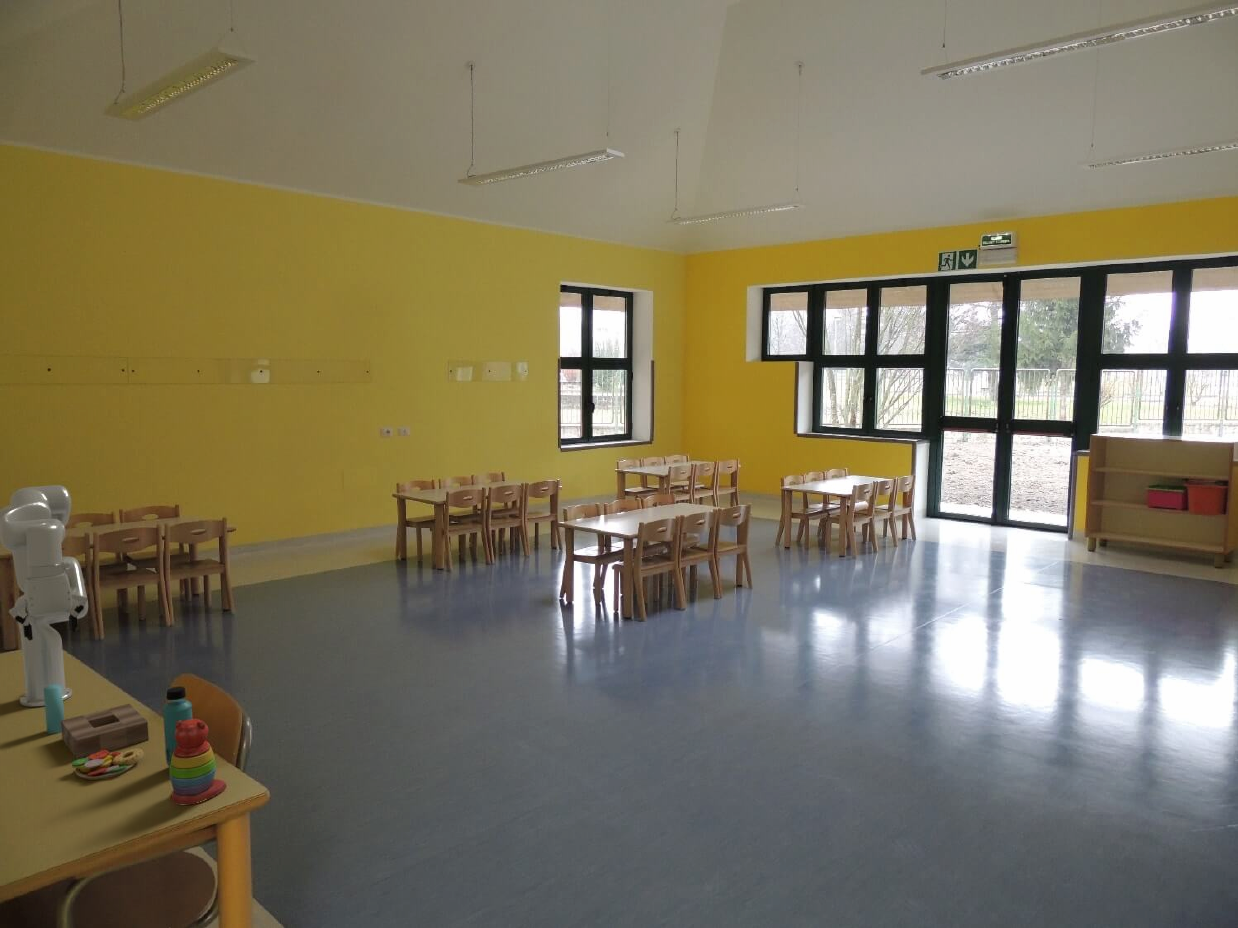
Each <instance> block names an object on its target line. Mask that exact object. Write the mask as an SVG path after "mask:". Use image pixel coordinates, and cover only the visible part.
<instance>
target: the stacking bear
mask: <svg viewBox="0 0 1238 928" xmlns="http://www.w3.org/2000/svg"><path fill="white" fill-rule="evenodd" d="M175 726H176V728H177V729H176V731H175V739H176V742H177V744H178V746H177V747H176V748H175V749H174V752H173V754H172V758H171V763H170V767H169V772H168V773H169V779H170V783H171V785H172V789H173V791H172V794H171V799H172V802H173V803H175V804H176V803H177V804H176V805H178V804H193V805H195V804H194V803H197V802H200V801H203V800H205V799H209V798H211V797H213V796H215V795H217V794H218V795H220V794H221V793H223V792H224V790H226V788H227V783H226V781H225V780H223V779H218V778H215V775H216V768H217V765H216V764H217V763H216V762H217V761H216V758H215V755H214V752H213V748H212V746H211V745H210V743H209V742H208V741H207V738H208V734H209V727H208V725H207V723H205V722H204V721H203V720H201V719H199V718H192V719H189V720H186V721H184V722H183V721H178V722H177V723H176V725H175ZM220 792H221V793H220ZM219 793H220V794H219ZM218 795H217V796H218ZM215 797H216V796H215ZM213 798H214V797H213ZM211 799H212V798H211ZM209 800H210V799H209Z"/></svg>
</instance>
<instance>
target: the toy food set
mask: <svg viewBox="0 0 1238 928" xmlns="http://www.w3.org/2000/svg"><path fill="white" fill-rule="evenodd" d="M144 755H145V754H144V751H143V750H142V749H141V748H132V749H128V750H125V751H122V752H121V751H114V752H111V753H110V751H106V750H102V751H99V752H97V753H94V754H92V755H90V756H89V757H86V758H82V759H76V760H73V761H72V762H71V767H72V768H73V769H74V768H75V774H76V775H77V776H78V777H80V778H82V779H85V780H92V781H93V780H94V781H95V780H103V779H109V778H112V777H116V776H119V775H121V774H123V773H125V772H127V771H129V770H130V769H132V767H134V765H136V763H137V762H138V761H140V760H141V759H142V758H143V757H144Z"/></svg>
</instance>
